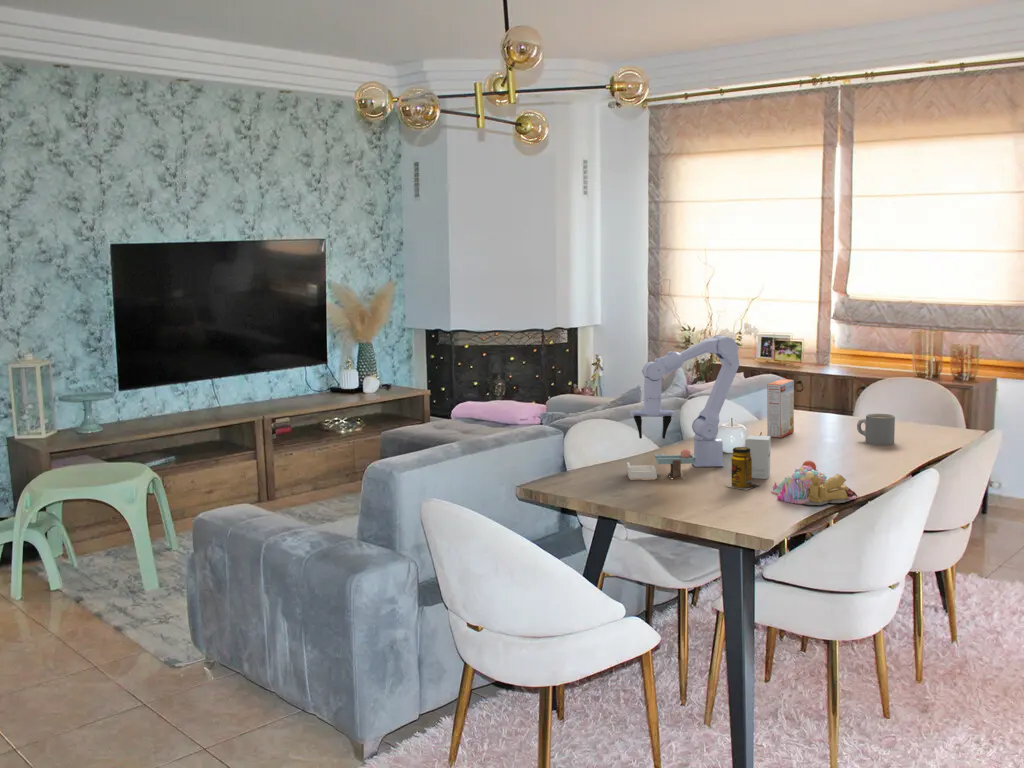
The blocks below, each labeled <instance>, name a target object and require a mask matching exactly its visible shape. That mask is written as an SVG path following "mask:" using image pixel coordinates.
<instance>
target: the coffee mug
mask: <svg viewBox="0 0 1024 768" xmlns="http://www.w3.org/2000/svg"><path fill="white" fill-rule="evenodd" d="M863 423H864V425H865V426H864V427H865V428H864V430H863V429H862V424H863ZM895 427H896V416H895V415H894V414H889V413H869V414H866V415H865V418H860V419H859V420H858V421H857V424H856V429H857V432H858V433H859V434H860V435H862V436H864V439H865V440H864V441H865V442H864V443H866V444H869V445H872V446H873V445H875V446H892V445H894V444H895V431H896V430H895Z"/></svg>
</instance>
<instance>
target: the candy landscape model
mask: <svg viewBox="0 0 1024 768" xmlns="http://www.w3.org/2000/svg"><path fill="white" fill-rule="evenodd" d="M846 481H847V479H846V478H845V477H843V476H842V475H841V474H839V473H836V474H835V475H833V476H831V477H829V478H828V476H827V475H826V474H825V472H824V473H823V472H819V471H818V469H817V464H816V463H815V462H814V461H812V460H806V461H804V462H803V463H802V466H800V467H798V468H795V469H794V473H792V475H791V476H785V477H784V479H783V480H782V481H781V482H780V483H779V484H777V482H774V484H773V487H772V488H771V490H770V491H771V493H772V494H774V495H777V497H776V499H777V500H778V501H784V502H785V503H786V504H787V503H788V504H790V503H791V504H794V505H797V504H801V505H808V506H822V505H825V504H826V505H827V504H828V503H829V504H830V503H831V504H841V503H846V502H850V501H852V500H856V499H857V497H859V496H858V495H857V493H856V492H855V491H854V490H852V489H851V488H850V487H849V486H847V485H846V483H845V482H846Z"/></svg>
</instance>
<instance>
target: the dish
mask: <svg viewBox="0 0 1024 768" xmlns="http://www.w3.org/2000/svg"><path fill="white" fill-rule="evenodd" d="M627 473H628V475H627V477H628V476H629V478H658V476H657V473H658V472H657V468H656V467H655V465H631V463H630V462H628V461H627V462H626V474H627ZM629 478H628V479H629Z"/></svg>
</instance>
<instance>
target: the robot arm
mask: <svg viewBox="0 0 1024 768" xmlns="http://www.w3.org/2000/svg"><path fill="white" fill-rule="evenodd" d="M707 353H708V354H715V355H716V357H718V360H719V362H720V364H721V367H720V370H719V371H718V373H717V377H716V379H715V382H714V385H713V386H712V389H711V391H710V394H709V396H708V398H707V401H706V404H704V405H705V406H704V408H703V409H701V411H700V412H699V414H698V416H697V417H696V418H695V419H693V421H692V424H691V428H692V431H693V433H694V434H695V435H694V436H693V455H694V456H695V457H696V464H692V465H693V466H694V467H695V468H697V467H699V468H700V467H703V468H705V467H723V466H724V464H723V462H724V458H723V457H724V456H723V455H724V454H723V453H724V451H723V450H724V447H723V446H724V445H723V440H722V438H717V435H718V434H719V424H720V413H721V411H722V408H723V406H724V403H725V400H726V398H727V396H728V395H729V394H728V393H729V391H730V388H731V386H732V384H733V382H734V378H735V377H736V374H737V371H738V370H739V366H740V362H739V361H740V360H739V346H738V344H737V342H736V340H735V339H734V338H733V337H730V336H724V335H722V334H716V335H714V336H712V337H711V336H710V337H708V338H705V339H703V340H702V341H700V342H698V343H695V344H694V345H692V346H690V347H688V348H687V349H685V350H682V351H681V352H678V351H676V350H675V351H671V350H669V351H668V352H667V354H665V355H664V356H662V357H659V358H658V357H656V358H654V361H648V362H645V364H644V365H643V367H642V369H641V373H642V375H643V376H644V379H643V381H644V384H643V409H637V410H635V409H634V410H633V409H631V410H630V411H629V413H630V414H629V416H630V417H631V418H633V420H634V422H635V424H636V427H637V432H638V438H639V439H642V438H643V435H642V433H643V431H642V423H643V420H642V418H644V417H645V418H647V417H650V418H651V417H654V418H658V417H659V418H662V433H661V435H662V436H661V437H662V440H663V439H666V434H667V431H668V428H669V425H670V424H671V421H672V418H675V415H676V414H675V410H671V409H670V410H669V409H667V410H666V409H662V378H663V377H664V375H665V376H666V375H667V374H670V373H671V372H674V371H676V370H678V369H680V368H682V367H683V365H684V363H685V362H687V361H690V360H691V359H694V358H696V357H698V356H701V355H703V354H707Z"/></svg>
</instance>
